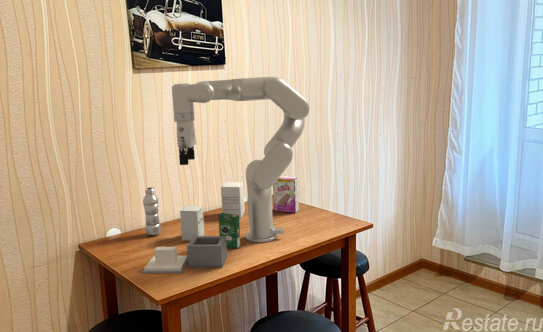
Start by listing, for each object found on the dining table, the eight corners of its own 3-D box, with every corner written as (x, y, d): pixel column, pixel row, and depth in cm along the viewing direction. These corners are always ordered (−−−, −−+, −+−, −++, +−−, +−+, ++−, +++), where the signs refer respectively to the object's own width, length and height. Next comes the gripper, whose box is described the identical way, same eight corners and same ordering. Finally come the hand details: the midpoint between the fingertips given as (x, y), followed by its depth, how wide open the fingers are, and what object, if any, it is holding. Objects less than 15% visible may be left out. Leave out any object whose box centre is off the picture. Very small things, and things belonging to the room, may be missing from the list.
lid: (188, 258, 187) (186, 242, 186) (180, 270, 177) (179, 254, 176) (153, 258, 188) (152, 243, 187) (144, 270, 178) (142, 254, 177)
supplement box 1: (199, 241, 205) (196, 211, 203) (181, 240, 207) (179, 210, 204) (205, 234, 212) (203, 205, 210) (188, 234, 214) (185, 205, 211)
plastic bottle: (147, 238, 211) (142, 191, 207) (144, 233, 217) (140, 187, 213) (163, 235, 213) (159, 189, 209) (159, 230, 220) (155, 185, 215)
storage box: (227, 256, 189) (226, 236, 187) (222, 267, 179) (221, 246, 177) (195, 256, 190) (193, 236, 188) (188, 267, 180) (186, 246, 178)
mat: (190, 258, 188) (190, 257, 188) (181, 273, 176) (181, 271, 176) (153, 258, 190) (153, 257, 190) (141, 272, 177) (141, 271, 177)
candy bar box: (273, 211, 240) (272, 177, 237) (277, 208, 245) (276, 175, 241) (295, 213, 236) (294, 179, 232) (299, 210, 240) (298, 176, 237)
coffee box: (241, 246, 198) (239, 214, 195) (238, 249, 195) (236, 216, 193) (223, 244, 201) (221, 212, 199) (219, 246, 199) (217, 214, 196)
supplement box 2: (226, 212, 242) (224, 181, 239) (245, 212, 241) (243, 181, 237) (222, 218, 233) (220, 186, 230) (241, 218, 232) (239, 186, 229)
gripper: (188, 119, 182) (191, 166, 186) (199, 114, 199) (202, 157, 203) (167, 120, 183) (171, 167, 187) (180, 114, 200) (183, 157, 203)
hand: (187, 162), depth 195 cm, fingers open, 9 cm apart
